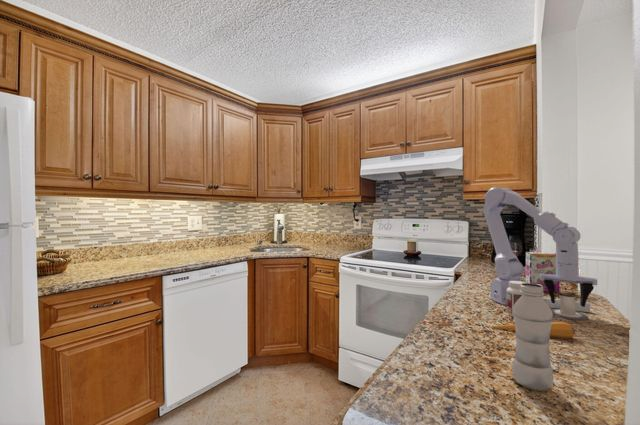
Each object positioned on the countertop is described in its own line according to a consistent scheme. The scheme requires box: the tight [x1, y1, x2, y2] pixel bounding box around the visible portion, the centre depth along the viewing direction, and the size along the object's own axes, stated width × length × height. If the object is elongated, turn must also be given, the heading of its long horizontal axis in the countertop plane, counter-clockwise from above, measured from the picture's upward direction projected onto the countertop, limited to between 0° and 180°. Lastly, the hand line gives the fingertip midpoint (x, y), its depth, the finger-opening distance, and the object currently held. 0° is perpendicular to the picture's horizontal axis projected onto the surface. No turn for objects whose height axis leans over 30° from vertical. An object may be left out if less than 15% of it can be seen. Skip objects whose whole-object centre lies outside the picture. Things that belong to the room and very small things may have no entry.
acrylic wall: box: [542, 297, 591, 313], centre depth 103 cm, size 1×14×3 cm, turn 60°
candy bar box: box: [525, 251, 560, 293], centre depth 126 cm, size 11×5×16 cm, turn 77°
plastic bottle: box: [512, 282, 554, 392], centre depth 58 cm, size 6×7×20 cm
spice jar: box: [559, 290, 577, 316], centre depth 97 cm, size 4×4×7 cm
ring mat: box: [550, 308, 589, 321], centre depth 97 cm, size 10×10×1 cm
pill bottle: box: [506, 280, 526, 317], centre depth 97 cm, size 6×6×11 cm
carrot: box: [493, 321, 575, 340], centre depth 83 cm, size 20×4×4 cm, turn 66°
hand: (567, 304), depth 97 cm, fingers open, 7 cm apart
